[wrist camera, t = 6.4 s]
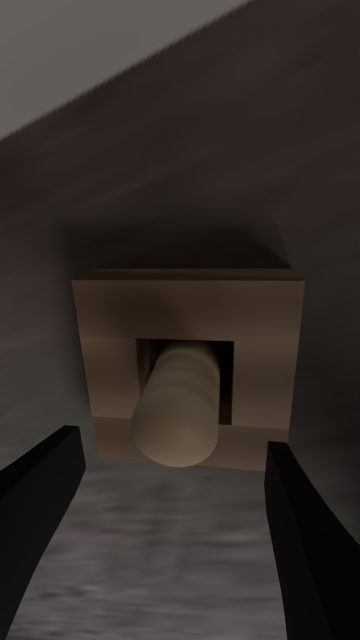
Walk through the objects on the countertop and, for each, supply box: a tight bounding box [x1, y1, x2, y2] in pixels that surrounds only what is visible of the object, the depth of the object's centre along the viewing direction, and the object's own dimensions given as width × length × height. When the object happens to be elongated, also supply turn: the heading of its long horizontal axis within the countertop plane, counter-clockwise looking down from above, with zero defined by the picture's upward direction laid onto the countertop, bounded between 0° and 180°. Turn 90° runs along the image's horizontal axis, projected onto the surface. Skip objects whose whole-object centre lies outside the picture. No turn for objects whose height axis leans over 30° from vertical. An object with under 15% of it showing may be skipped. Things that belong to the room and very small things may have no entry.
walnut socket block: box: [71, 268, 306, 471], centre depth 18 cm, size 11×11×3 cm
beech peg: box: [130, 339, 221, 467], centre depth 16 cm, size 4×4×7 cm
